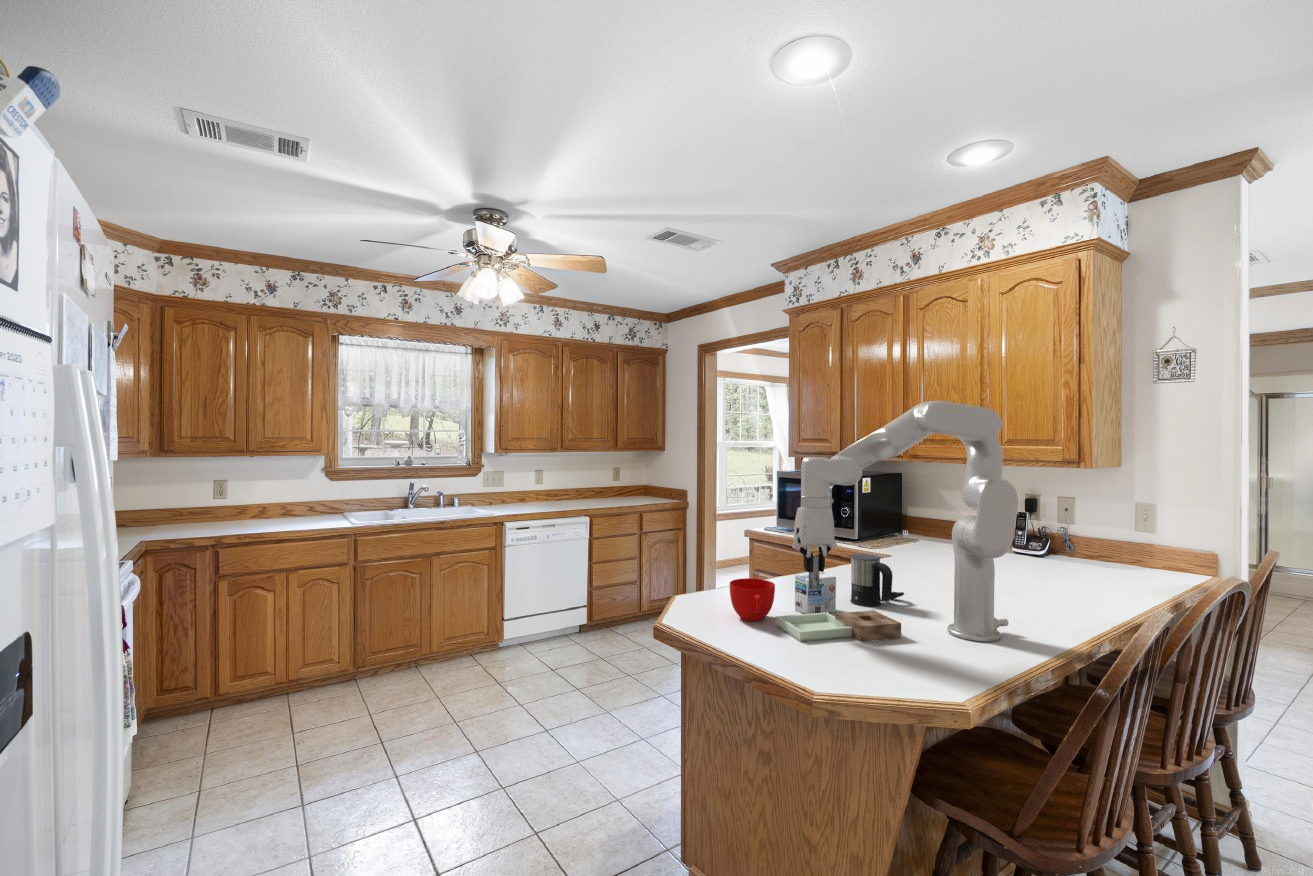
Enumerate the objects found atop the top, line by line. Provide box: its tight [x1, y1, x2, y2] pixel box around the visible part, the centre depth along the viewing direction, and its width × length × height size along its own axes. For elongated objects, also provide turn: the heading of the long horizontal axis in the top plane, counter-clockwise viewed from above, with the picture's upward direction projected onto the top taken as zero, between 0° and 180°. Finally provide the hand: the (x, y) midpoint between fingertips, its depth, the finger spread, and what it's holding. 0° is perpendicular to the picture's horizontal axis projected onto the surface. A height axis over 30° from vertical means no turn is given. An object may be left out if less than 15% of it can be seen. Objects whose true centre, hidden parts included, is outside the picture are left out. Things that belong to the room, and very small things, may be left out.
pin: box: [808, 549, 820, 590], centre depth 167 cm, size 3×3×10 cm
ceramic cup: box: [729, 577, 776, 622], centre depth 176 cm, size 13×17×10 cm
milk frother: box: [849, 553, 905, 607], centre depth 196 cm, size 14×16×15 cm
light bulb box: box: [794, 571, 837, 614], centre depth 186 cm, size 11×7×11 cm, turn 114°
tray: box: [774, 612, 852, 643], centre depth 167 cm, size 16×14×2 cm
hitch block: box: [834, 609, 902, 642], centre depth 165 cm, size 12×12×4 cm
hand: (814, 570), depth 167 cm, fingers closed on pin, 2 cm apart
